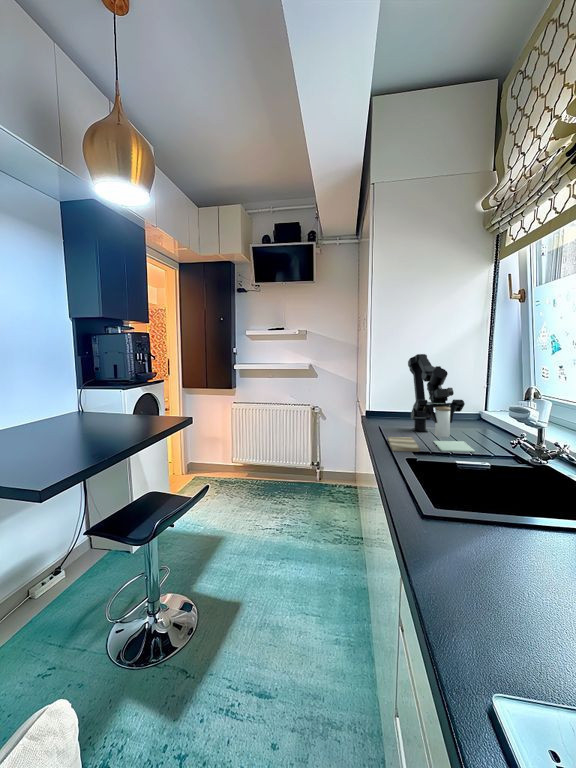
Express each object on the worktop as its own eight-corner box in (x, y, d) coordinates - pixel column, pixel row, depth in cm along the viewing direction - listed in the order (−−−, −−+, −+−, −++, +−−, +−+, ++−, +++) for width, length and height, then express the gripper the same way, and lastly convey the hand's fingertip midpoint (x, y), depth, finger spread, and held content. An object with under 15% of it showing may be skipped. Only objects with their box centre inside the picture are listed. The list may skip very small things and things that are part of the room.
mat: (433, 442, 148) (433, 440, 148) (463, 442, 146) (464, 441, 146) (441, 451, 136) (441, 449, 135) (475, 452, 133) (475, 450, 133)
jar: (431, 434, 137) (432, 406, 136) (442, 432, 139) (443, 405, 138) (441, 437, 132) (442, 409, 130) (453, 436, 134) (454, 407, 132)
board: (387, 440, 153) (387, 436, 153) (412, 440, 151) (412, 437, 151) (392, 450, 138) (392, 447, 137) (419, 451, 136) (419, 448, 135)
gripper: (417, 381, 138) (424, 412, 128) (463, 380, 136) (474, 412, 126) (412, 396, 147) (418, 426, 137) (455, 396, 144) (465, 426, 135)
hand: (443, 422), depth 134 cm, fingers closed on jar, 6 cm apart
